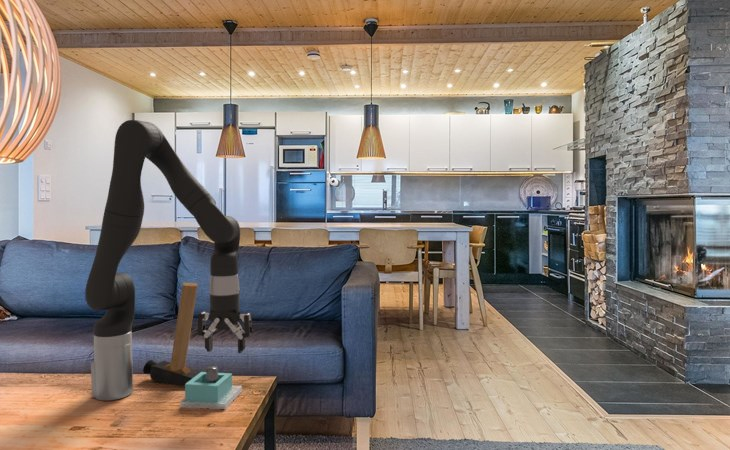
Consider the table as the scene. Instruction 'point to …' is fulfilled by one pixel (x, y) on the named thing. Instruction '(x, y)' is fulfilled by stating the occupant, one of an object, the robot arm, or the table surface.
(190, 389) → the collar
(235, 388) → the stand
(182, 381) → the hammer
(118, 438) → the table surface
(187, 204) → the robot arm
